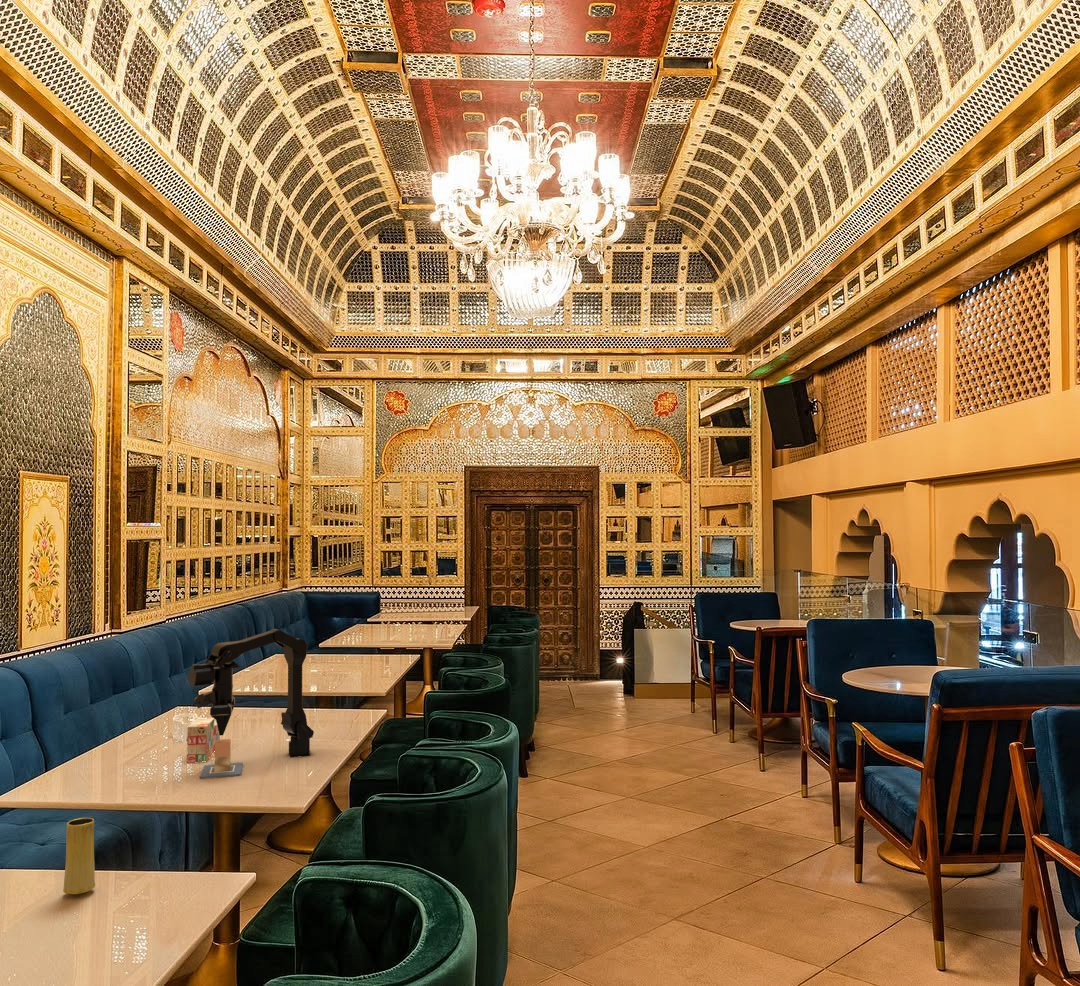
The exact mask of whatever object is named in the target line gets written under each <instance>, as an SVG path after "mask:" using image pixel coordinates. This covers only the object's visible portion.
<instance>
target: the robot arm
mask: <svg viewBox="0 0 1080 986" xmlns="http://www.w3.org/2000/svg"><path fill="white" fill-rule="evenodd" d="M274 643H275V645H277V646H278V647H280V648H282V649H283V656H284V658H285V662H286V664H287V707H286V710H285V712H283V711H282V712H281V714H280V715H281V721H280V725H282V728H283V730H284V731H285V732H286V734H287V736H288V737H290V740H289V741H288V755H289V758H299V757H298V756H302V757H310V756H311V751H310V750H311V747H310V745H311V742H310V741H311V740H310V739H312V738H313V737H314V734H315V731H314V730H313V729H312V728H311V727H310V726H309V725H308V720H307V716H306V713H305V710H304V707H303V664H304V662H305V660H306V657H307V652H308V643H307V641H305V640H304V639H302V638H296V637H294V636H292V635H289V634H287V633H286V632H284V631H283V630H281V629H277V628H272V629H270V630H268V631H264V632H261V633H259V634H255V635H253V636H250V637H245V638H243V639H240V640H236V641H225V642H218V643H216V644H215V645H213V647H212V649H211V653H210V654H209V656H208V657H207V659H206V660H205V661H204V663H202V664H196V663H195V664H192V665H191V669H190V670H189V672H188V675H187V677H188V678H187V680H188V681H187V682H188V684H189V686H190V687H191V688H194V687H202V686H210V685H211V684H212V683H213V687H212V689H211V690H210V691H207V692H205V693H203V692H202V693H201V694H197V696H196V697H195V698H194V699H193V700H194V704H195V706H196V707H197V709H201V708H202V707H203V706H204V707H205V706H206V705H209V704H211V705H212V706H210V709H209V715H210V716H211V717H210V718H214V720H215V721H216V722H217V726H218V731H219V735H220V737H221V736H224V734H225V732H226V729H227V726H228V725H229V721H230V720H231V719H230V718H231V716H232V714H233V710H234V707H235V704H236V698H235V696H234V695H233V689H234V684H233V683H234V682H233V681H234V680H233V679H234V678H233V677H234V676H233V674H234V673H233V672H234V669H238V668H240V665H239V664H238V663H236V661H235V660H236V659H238V658H240V657H241V656H242V655H244V654H245V653H247V652H250V651H252V650H256V649H259V648H262V647H265V646H268V645H270V644H274Z"/></svg>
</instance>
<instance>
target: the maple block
mask: <svg viewBox="0 0 1080 986" xmlns="http://www.w3.org/2000/svg"><path fill="white" fill-rule="evenodd" d="M231 759H232V758H231V753H230V756H229V757H214V765H215V766H214V772H220V771H230V764H231V761H232V760H231Z"/></svg>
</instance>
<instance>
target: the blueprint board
mask: <svg viewBox="0 0 1080 986" xmlns="http://www.w3.org/2000/svg"><path fill="white" fill-rule="evenodd" d="M243 763H244V762H234V763H231V764H230V771H220V772H214V766H215V764H207V765H206V764H205V765H204V766H203V768H202V771H201V773H200V776H199V780H200V779H201V780H204V779H216V778H215V777H217V778H228V776H231V777H240V775H241V776H242V773H243V769H242V768H244V764H243ZM241 772H242V773H241Z"/></svg>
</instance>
